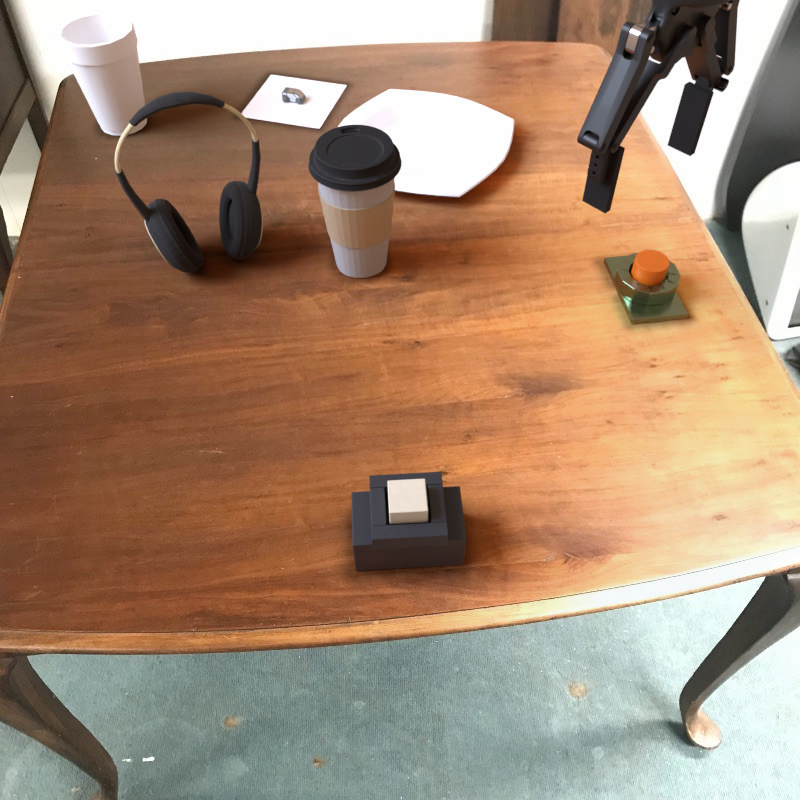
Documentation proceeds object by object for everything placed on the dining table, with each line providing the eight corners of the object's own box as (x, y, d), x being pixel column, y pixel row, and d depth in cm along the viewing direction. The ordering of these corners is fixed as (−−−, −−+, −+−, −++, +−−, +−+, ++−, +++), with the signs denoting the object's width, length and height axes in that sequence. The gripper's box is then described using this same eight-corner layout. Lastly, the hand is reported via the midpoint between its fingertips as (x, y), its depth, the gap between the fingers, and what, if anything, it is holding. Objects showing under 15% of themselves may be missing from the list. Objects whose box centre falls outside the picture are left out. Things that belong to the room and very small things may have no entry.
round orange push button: (669, 284, 83) (674, 270, 81) (637, 288, 82) (641, 273, 81) (658, 262, 85) (663, 248, 83) (626, 265, 85) (630, 251, 83)
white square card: (319, 128, 106) (318, 118, 105) (238, 116, 108) (236, 106, 107) (347, 85, 113) (346, 75, 112) (271, 74, 116) (269, 64, 114)
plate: (533, 127, 106) (535, 114, 104) (467, 224, 93) (468, 210, 91) (383, 90, 112) (382, 77, 111) (301, 175, 99) (300, 162, 98)
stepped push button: (456, 508, 68) (460, 470, 63) (464, 570, 64) (468, 534, 59) (354, 514, 67) (350, 476, 63) (355, 576, 64) (351, 540, 59)
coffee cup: (370, 225, 93) (364, 110, 81) (419, 266, 88) (420, 150, 76) (304, 257, 89) (288, 141, 77) (351, 302, 84) (342, 186, 73)
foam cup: (92, 108, 110) (60, 15, 100) (159, 102, 111) (133, 9, 101) (87, 145, 104) (52, 50, 94) (156, 138, 105) (130, 43, 95)
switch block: (688, 318, 82) (695, 301, 80) (629, 324, 82) (634, 307, 80) (656, 257, 89) (662, 239, 87) (601, 262, 88) (605, 245, 86)
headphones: (286, 263, 88) (260, 101, 73) (157, 298, 85) (101, 135, 70) (266, 220, 94) (237, 59, 78) (143, 251, 90) (88, 89, 75)
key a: (425, 490, 62) (425, 478, 61) (427, 522, 61) (428, 510, 59) (387, 492, 62) (387, 480, 61) (389, 524, 60) (389, 513, 59)
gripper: (748, -115, 66) (682, 114, 82) (558, -31, 55) (525, 213, 72) (831, -93, 62) (744, 142, 79) (645, 2, 52) (589, 251, 68)
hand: (640, 176), depth 75 cm, fingers open, 13 cm apart
